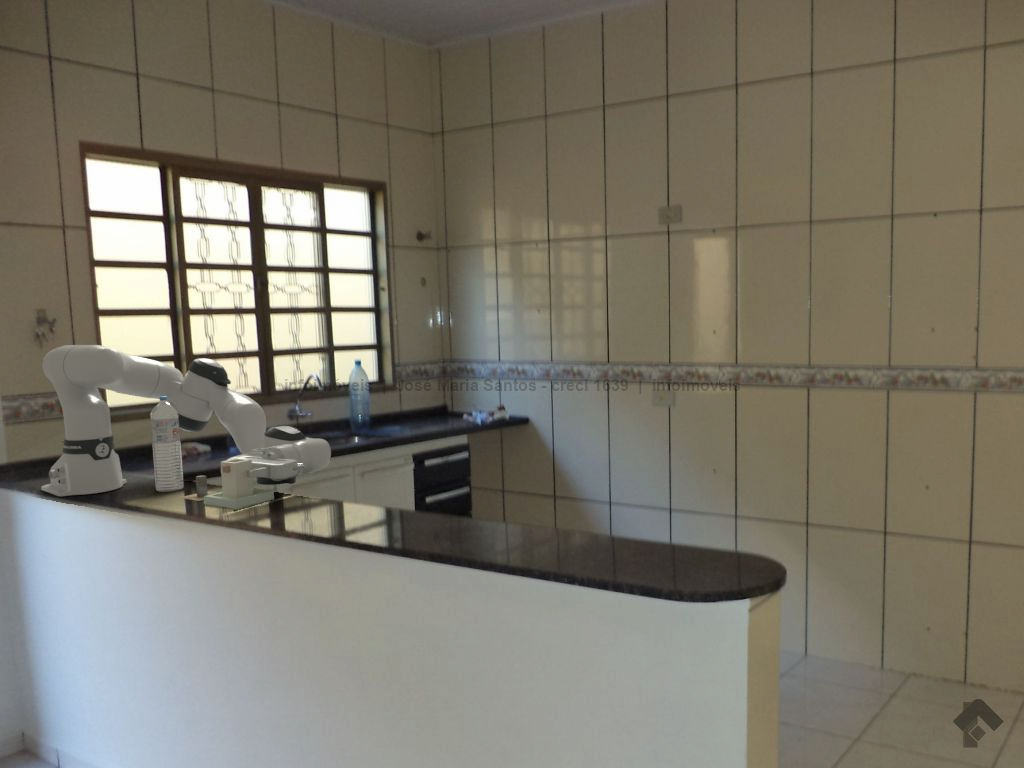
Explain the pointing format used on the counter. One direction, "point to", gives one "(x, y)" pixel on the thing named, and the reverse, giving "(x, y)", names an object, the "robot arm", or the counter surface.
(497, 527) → the counter surface
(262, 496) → the tray
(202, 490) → the stand
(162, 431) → the water bottle
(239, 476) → the sleeve
